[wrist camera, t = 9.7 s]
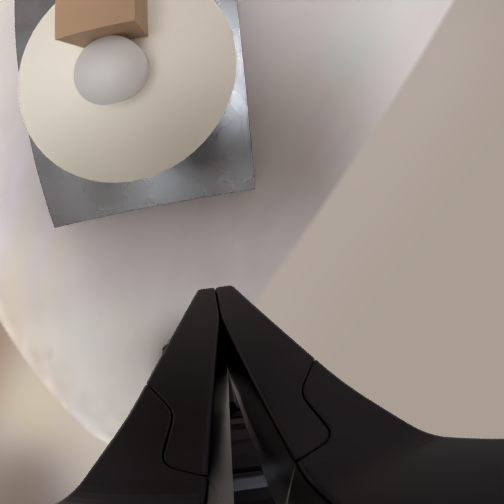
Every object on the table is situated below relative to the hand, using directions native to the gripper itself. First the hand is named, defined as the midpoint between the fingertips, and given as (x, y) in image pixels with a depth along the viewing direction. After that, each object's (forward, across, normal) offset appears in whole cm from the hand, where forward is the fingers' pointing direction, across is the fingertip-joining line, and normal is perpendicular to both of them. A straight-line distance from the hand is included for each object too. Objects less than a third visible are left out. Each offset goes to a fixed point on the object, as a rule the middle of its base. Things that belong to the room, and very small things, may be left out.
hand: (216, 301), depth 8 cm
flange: (+10, +3, -7) cm, 13 cm away
